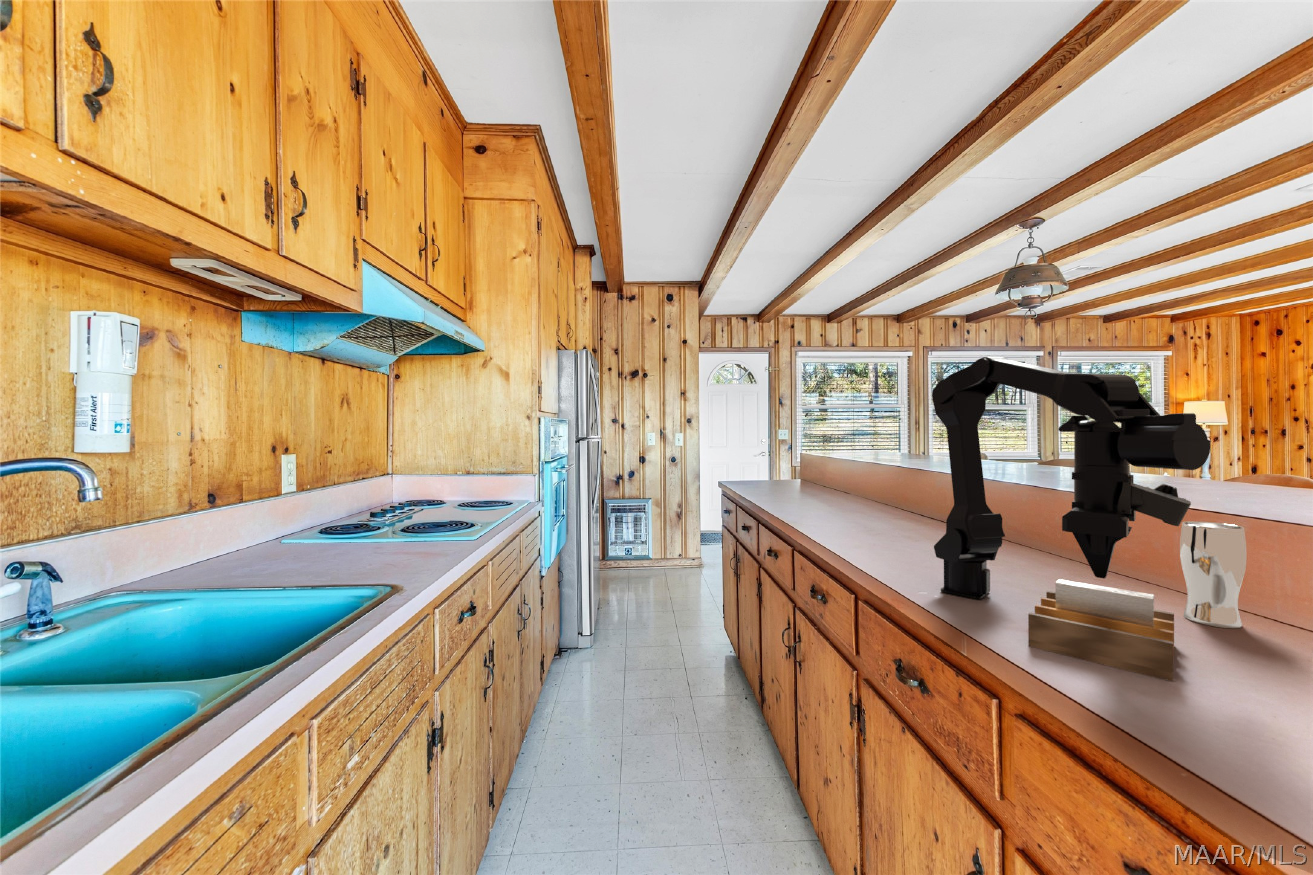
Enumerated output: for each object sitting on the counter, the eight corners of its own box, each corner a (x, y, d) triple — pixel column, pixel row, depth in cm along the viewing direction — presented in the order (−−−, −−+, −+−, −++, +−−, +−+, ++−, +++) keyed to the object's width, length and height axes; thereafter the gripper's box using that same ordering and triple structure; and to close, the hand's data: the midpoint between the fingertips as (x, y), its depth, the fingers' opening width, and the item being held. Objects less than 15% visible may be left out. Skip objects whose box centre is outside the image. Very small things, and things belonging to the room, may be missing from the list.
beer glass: (1191, 624, 77) (1191, 526, 77) (1171, 610, 83) (1171, 519, 83) (1257, 632, 74) (1257, 530, 73) (1231, 617, 80) (1231, 522, 80)
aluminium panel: (1055, 631, 72) (1055, 582, 72) (1058, 626, 74) (1058, 579, 74) (1152, 652, 65) (1153, 599, 65) (1153, 647, 67) (1154, 594, 67)
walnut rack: (1028, 646, 70) (1028, 613, 70) (1047, 618, 80) (1047, 590, 80) (1172, 681, 60) (1172, 643, 60) (1174, 645, 70) (1174, 612, 70)
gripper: (1186, 472, 57) (1185, 608, 57) (1185, 463, 70) (1184, 575, 70) (1061, 467, 65) (1061, 587, 65) (1081, 460, 78) (1081, 561, 78)
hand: (1100, 577), depth 70 cm, fingers closed
